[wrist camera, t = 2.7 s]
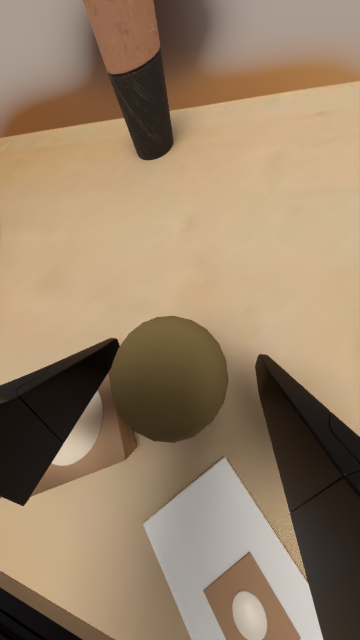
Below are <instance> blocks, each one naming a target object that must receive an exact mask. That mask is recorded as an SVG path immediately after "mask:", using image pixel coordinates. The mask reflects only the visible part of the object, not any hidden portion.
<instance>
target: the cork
mask: <svg viewBox="0 0 360 640" xmlns="http://www.w3.org/2000/svg"><path fill="white" fill-rule="evenodd" d="M110 384H111V390H112V397H113V401H114V403H115V405H116V407H117V409H118V411H119V413H120V416H121V417H122V418H123V419H124V420H125V421H126V422H127V423H128V425H129V426H130V427H131V428H132V429H133V430H134V431H135V432H137V433H139V434H141V435H143V436H145V437H147V438H149V439H151V440H153V441H160V442H173V443H175V442H178V441H181V440H184V439H187V438H190V437H193V436H195V435H196V434H197V433H199V432H200V431H201V430H202V429H204V428H205V427H206V426H207V425H208V424H210V423H211V422H212V421H213V419H214V418H215V416H216V414H217V413H218V411H219V409H220V408H221V406H222V404H223V403H224V399H225V394H226V389H227V385H228V374H227V364H226V359H225V357H224V355H223V352H222V350H221V348H220V345H219V343H218V342H217V341H216V340H215V339H214V337H213V336H212V335H211V334H210V333H209V332H208V330H207V329H205V328H204V327H202V326H200V325H199V324H197V323H195V322H194V321H192V320H188V319H184V318H180V317H176V316H167V317H157V318H154V319H152V320H149V321H147V322H144V323H142V324H141V325H140V326H138V327H137V328H136V329H134V330H133V331H132V332H131V333H129V335H128V336H127V337H126V339H125V340H124V341H123V343H122V344H121V346H120V347H119V348H118V351H117V353H116V356H115V358H114V361H113V363H112V370H111V379H110Z"/></svg>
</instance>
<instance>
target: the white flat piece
mask: <svg viewBox="0 0 360 640" xmlns="http://www.w3.org/2000/svg"><path fill="white" fill-rule="evenodd" d="M143 526H144V528H145V531H146V533H147V535H148V538H149V540H150V542H151V545H152V547H153V550H154V552H155V554H156V557H157V559H158V562H159V564H160V566H161V569H162V571H163V573H164V576H165V578H166V581H167V583H168V585H169V588H170V590H171V592H172V595H173V597H174V600H175V602H176V604H177V607H178V609H179V612H180V614H181V616H182V619H183V621H184V623H185V626H186V628H187V631H188V633H189V635H190V638H191V640H323V636H322V633H321V630H320V626H319V622H318V618H317V615H316V611H315V607H314V603H313V599H312V595H311V592H310V588H309V584H308V582H307V580H306V579H305V577H304V576H303V574H302V573H301V571H300V570H299V568H298V567H297V565H296V564H295V562H294V561H293V559H292V558H291V556H290V555H289V553H288V551H287V550H286V548H285V547H284V545H283V544H282V542H281V541H280V539H279V538H278V536H277V535H276V533H275V532H274V530H273V529H272V527H271V526H270V524H269V523H268V521H267V520H266V518H265V517H264V515H263V513H262V512H261V510H260V509H259V507H258V506H257V504H256V503H255V501H254V500H253V498H252V497H251V495H250V494H249V492H248V491H247V489H246V488H245V486H244V485H243V483H242V482H241V480H240V479H239V477H238V476H237V474H236V472H235V471H234V469H233V468H232V466H231V465H230V463H229V462H228V460H227V459H226V457H225V456H224V457H223V458H222V459H220V460H219V461H218V462H217V463H215V464H214V465H213V466H212V467H211V468H209V469H208V470H207V471H206V472H204V473H203V474H202V475H201V476H200V477H198V478H197V479H196V480H195V481H193V482H192V483H191V484H190V485H189V486H187V487H186V488H185V489H184V490H182V491H181V492H180V493H179V494H178V495H176V496H175V497H174V498H173V499H171V500H170V501H169V502H168V503H167V504H165V505H164V506H163V507H162V508H160V509H159V510H158V511H157V512H156V513H154V514H153V515H152V516H151V517H149V518H148V519H147V520H146V521H145V522H144V523H143Z"/></svg>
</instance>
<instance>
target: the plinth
mask: <svg viewBox="0 0 360 640" xmlns="http://www.w3.org/2000/svg"><path fill="white" fill-rule="evenodd" d="M111 370H112V367H111V369H110V371H109V373H108V374H107V376H106V377H105V379H104V381H103V382H102V384H101V385H100V387H99V388H98V390H97V392H96V393H95V395H94V396H93V398H92V400H91V401H90V403H89V404H88V406H87V407H86V409H85V411H84V412H83V414H82V415H81V417H80V419H79V420H78V422H77V423H76V425H75V426H74V428H73V430H72V431H71V433H70V434H69V436H68V438H67V439H66V441H65V442H64V443H63V446H62V447H61V449H60V450H59V452H58V454H57V455H56V457H55V458H54V460H53V461H52V463H51V465H50V466H49V468H48V469H47V471H46V473H45V474H44V476H43V477H42V479H41V480H40V482H39V484H38V485H37V487H36V488H35V490H34V492H33V493H32V495H31V496H33V495H36V494H39V493H41V492H44V491H46V490H49V489H52V488H54V487H57V486H59V485H62V484H64V483H67V482H70V481H72V480H75V479H77V478H80V477H83V476H85V475H88V474H90V473H93V472H95V471H98V470H101V469H103V468H106V467H108V466H111V465H114V464H116V463H119V462H121V461H124V460H126V459H127V458H128V457H129V455H130V454H131V453H132V452H133V451H134V450H135V448H136V447H137V446H136V442H135V438H134V433H133V429H132V428H131V427H130V426H129V425H128V423H127V422H126V421H125V420H124V419H123V418H122V417H121V416H120V413H119V411H118V409H117V407H116V405H115V403H114V401H113V397H112V390H111V384H110V379H111ZM31 496H30V497H31Z"/></svg>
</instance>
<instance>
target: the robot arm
mask: <svg viewBox="0 0 360 640" xmlns="http://www.w3.org/2000/svg"><path fill="white" fill-rule="evenodd" d="M119 347H120V346H119V343H118V340H117V339H116V338H110V339H107V340H105V341H103V342H101V343H98V344H96V345H94V346H92V347H89V348H87V349H85V350H83V351H80V352H78V353H76V354H74V355H71V356H69V357H67V358H65V359H62V360H60V361H58V362H56V363H53V364H52V365H49V366H47V367H44V368H42V369H40V370H37V371H35V372H33V373H30V374H28V375H25V376H23V377H20V378H18V379H15V380H13V381H10V382H8V383H5V384H3V385H0V498H1V497H3V498H6V499H8V500H10V501H12V502H15V503H17V504H19V505H22V506H24V505H25V504H26V502H27V501H28V499H29V498H30V496H31V495H32V493H33V492H34V490H35V488H36V487H37V485H38V484H39V482H40V480H41V479H42V477H43V476H44V474H45V473H46V471H47V469H48V468H49V466H50V465H51V463H52V461H53V460H54V458H55V457H56V455H57V454H58V452H59V450H60V449H61V447H62V446H63V443H64V442H65V441H66V439H67V438H68V436H69V434H70V433H71V431H72V430H73V428H74V426H75V425H76V423H77V422H78V420H79V419H80V417H81V415H82V414H83V412H84V411H85V409H86V407H87V406H88V404H89V403H90V401H91V400H92V398H93V396H94V395H95V393H96V392H97V390H98V388H99V387H100V385H101V384H102V382H103V381H104V379H105V377H106V376H107V374H108V373H109V371H110V369H111V367H112V363H113V361H114V358H115V356H116V353H117V351H118V348H119ZM255 369H256V376H257V384H258V391H259V396H260V400H261V404H262V408H263V412H264V416H265V419H266V423H267V427H268V431H269V435H270V438H271V442H272V446H273V450H274V454H275V458H276V461H277V465H278V469H279V473H280V477H281V480H282V484H283V488H284V492H285V496H286V500H287V503H288V507H289V511H290V515H291V519H292V523H293V527H294V530H295V534H296V538H297V542H298V546H299V550H300V553H301V557H302V561H303V565H304V569H305V573H306V576H307V580H308V584H309V588H310V592H311V595H312V599H313V603H314V607H315V611H316V615H317V618H318V622H319V626H320V630H321V633H322V636H323V640H360V437H359V436H358V435H357V434H356V433H355V432H353V431H352V430H351V429H350V428H349V427H348V426H347V425H345V424H344V423H343V422H342V421H341V420H340V419H339V418H337V417H336V416H335V415H334V414H333V413H332V412H330V411H329V410H328V409H327V408H326V407H325V406H324V405H323V404H322V403H321V402H319V401H318V400H317V399H316V398H315V397H314V396H313V395H312V394H310V393H309V392H308V391H307V390H306V389H305V388H304V387H303V386H301V385H300V384H299V383H298V382H297V381H296V380H295V379H294V378H293V377H291V376H290V375H289V374H288V373H287V372H286V371H285V370H284V369H282V368H281V367H280V366H279V365H278V364H277V363H276V362H275V361H273V360H272V359H271V358H270V357H269V356H268V355H263V354H259V355H258V358H257V361H256V365H255ZM0 640H114V639H113V638H111V637H109V636H108V635H106V634H104V633H103V632H101V631H99V630H98V629H96V628H94V627H93V626H91V625H89V624H88V623H86V622H84V621H83V620H81V619H80V618H78V617H76V616H75V615H73V614H71V613H70V612H68V611H66V610H65V609H63V608H61V607H60V606H58V605H56V604H55V603H53V602H51V601H50V600H48V599H46V598H45V597H43V596H41V595H40V594H38V593H36V592H35V591H33V590H31V589H30V588H28V587H26V586H25V585H23V584H21V583H20V582H18V581H16V580H15V579H13V578H11V577H10V576H8V575H6V574H5V573H3V572H1V571H0Z"/></svg>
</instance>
